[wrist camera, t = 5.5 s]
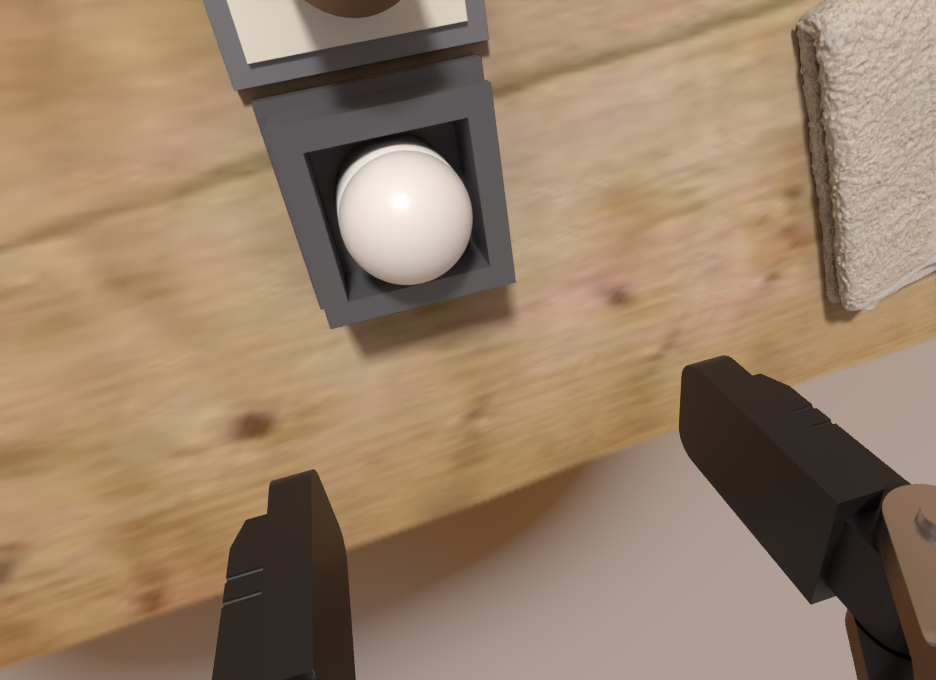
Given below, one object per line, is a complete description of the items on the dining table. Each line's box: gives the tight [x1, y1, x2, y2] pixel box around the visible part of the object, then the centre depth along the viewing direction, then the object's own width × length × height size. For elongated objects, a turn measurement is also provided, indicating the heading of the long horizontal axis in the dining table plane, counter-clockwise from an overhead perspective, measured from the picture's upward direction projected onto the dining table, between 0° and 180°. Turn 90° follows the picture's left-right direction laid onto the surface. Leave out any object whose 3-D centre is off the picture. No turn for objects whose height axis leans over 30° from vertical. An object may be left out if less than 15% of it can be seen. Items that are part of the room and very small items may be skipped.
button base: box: [252, 55, 516, 329], centre depth 24 cm, size 9×9×4 cm
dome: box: [335, 134, 473, 285], centre depth 22 cm, size 5×5×6 cm
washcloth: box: [796, 0, 936, 311], centre depth 30 cm, size 12×18×3 cm, turn 27°
